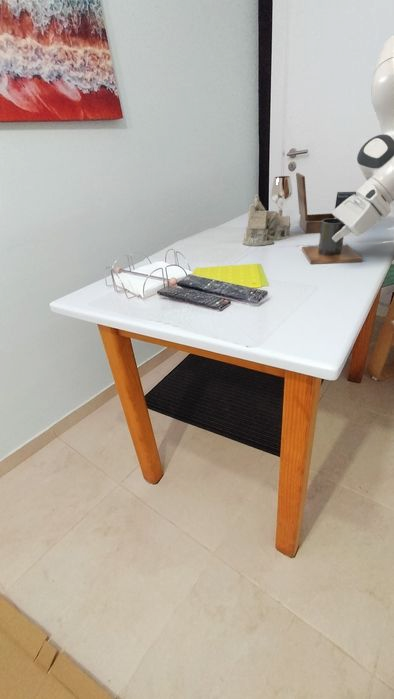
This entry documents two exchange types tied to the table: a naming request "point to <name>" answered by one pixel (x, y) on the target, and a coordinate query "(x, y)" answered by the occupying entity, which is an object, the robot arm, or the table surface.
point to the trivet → (331, 256)
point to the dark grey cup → (326, 242)
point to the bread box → (313, 222)
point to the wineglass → (281, 190)
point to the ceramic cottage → (265, 225)
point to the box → (343, 197)
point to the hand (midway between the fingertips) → (329, 236)
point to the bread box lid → (302, 196)
